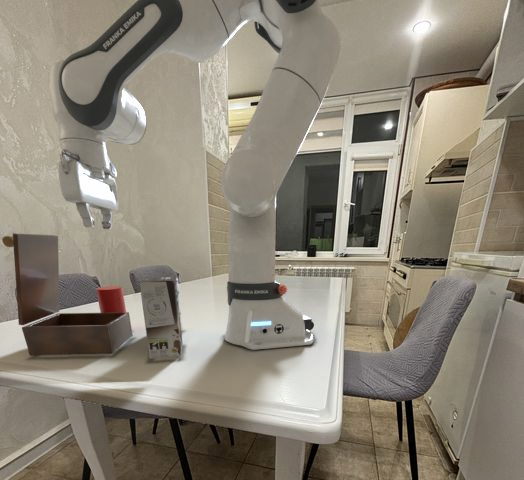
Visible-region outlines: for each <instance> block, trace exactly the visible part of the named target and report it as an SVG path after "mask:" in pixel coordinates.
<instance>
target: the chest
mask: <svg viewBox="0 0 524 480" xmlns="http://www.w3.org/2000/svg"><path fill="white" fill-rule="evenodd" d="M21 331H22V334H23V337H24V340H25V341H24V342H25V344H26V348H27V351H28V354H29V356H68V355H69V356H70V355H71V356H73V355H107V354H108V355H109V354H114V353H115V352H116V351H117V350H118V349H119V348H121V347H122V346H123V345H124V344H126V342H128V340H130V339H131V338H132V337H133V329H132V324H131V317H130V312H128V311H126V312H113V313H101V312H57V313H54V314H52V315H49V316H46V317H44V318H41V319H39V320H36V321H34V322H31V323H28V324H26V325H23V326H22V327H21Z"/></svg>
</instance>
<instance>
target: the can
mask: <svg viewBox="0 0 524 480" xmlns="http://www.w3.org/2000/svg"><path fill="white" fill-rule="evenodd" d="M95 292H96V296H97V301H98V307H99V311H100V312H99V313H113V312H127V307H126V301H125V296H124V291H123V286H119V285H117V286H115V285H111V286H109V285H108V286H101V287H96V288H95Z"/></svg>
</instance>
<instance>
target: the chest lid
mask: <svg viewBox="0 0 524 480" xmlns="http://www.w3.org/2000/svg"><path fill="white" fill-rule="evenodd" d="M1 240H2V241H1V242H2V244H3V246H5V247H7V248H13V259H14V261H13V262H14V273H15V275H14V276H15V288H16V289H15V290H16V291H15V292H16V305H17V319H18V326H26V325H29V324H32V323H34V322H37V321H40V320H42V319H45V318H47V317H50V316H53V315H55V314H58V313H60V277H59V276H60V268H59V265H60V264H59V236H58V235H55V234H38V233H37V234H36V233H16V232H13V233H12V236H11V235H9V236H8V235H5V236H3V237H2V239H1Z"/></svg>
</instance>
